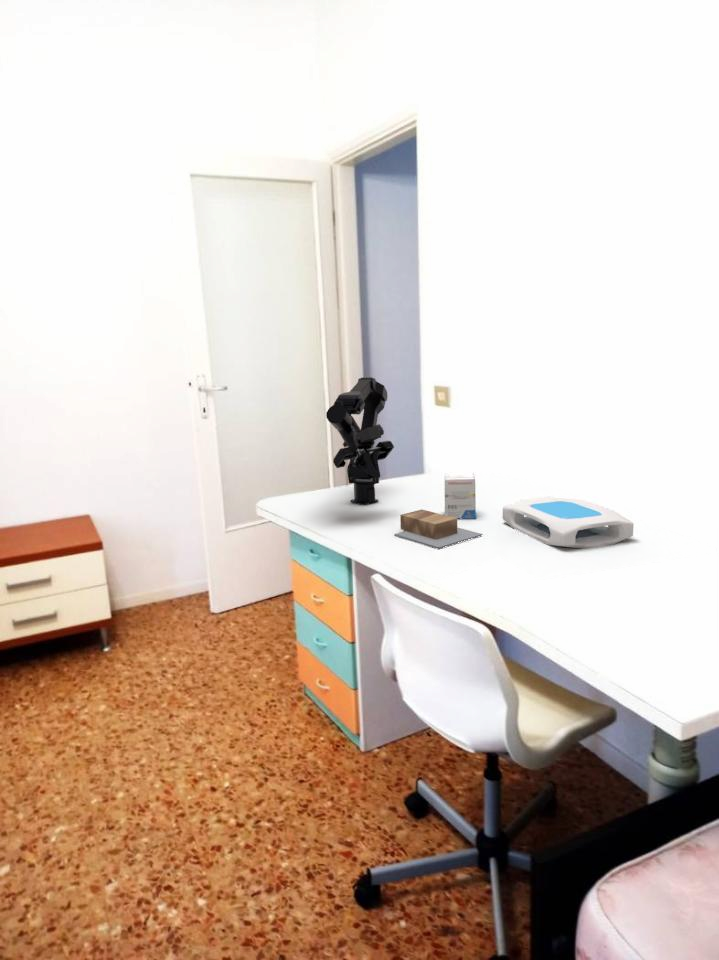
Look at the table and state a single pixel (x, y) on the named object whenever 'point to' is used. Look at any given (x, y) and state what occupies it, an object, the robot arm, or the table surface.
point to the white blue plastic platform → (567, 522)
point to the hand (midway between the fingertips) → (378, 477)
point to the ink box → (460, 495)
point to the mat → (440, 542)
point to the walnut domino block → (428, 524)
